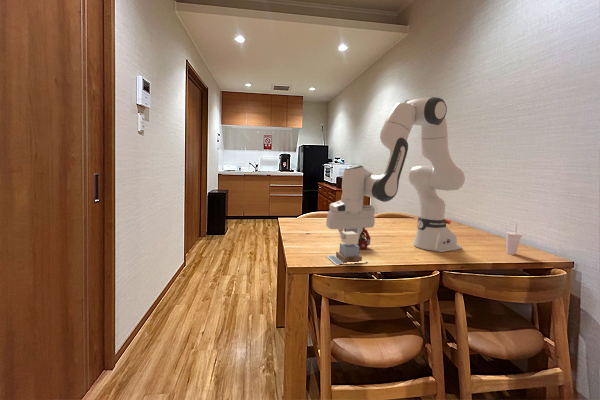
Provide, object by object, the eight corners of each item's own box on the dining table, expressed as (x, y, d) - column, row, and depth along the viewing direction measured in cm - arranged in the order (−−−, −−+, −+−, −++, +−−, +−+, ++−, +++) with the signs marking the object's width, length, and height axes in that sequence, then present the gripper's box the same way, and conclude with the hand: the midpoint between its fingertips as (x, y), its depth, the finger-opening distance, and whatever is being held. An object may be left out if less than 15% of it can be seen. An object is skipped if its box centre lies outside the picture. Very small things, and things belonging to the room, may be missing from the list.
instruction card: (355, 254, 140) (355, 253, 140) (367, 263, 129) (367, 262, 129) (325, 256, 136) (325, 255, 136) (335, 265, 126) (335, 264, 125)
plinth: (353, 255, 138) (353, 250, 138) (361, 261, 130) (362, 256, 130) (335, 256, 136) (336, 251, 135) (343, 262, 128) (343, 258, 128)
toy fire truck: (371, 250, 147) (372, 228, 145) (344, 249, 147) (345, 227, 145) (368, 245, 154) (369, 224, 152) (342, 244, 154) (343, 223, 152)
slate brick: (352, 251, 136) (353, 242, 136) (358, 256, 131) (359, 246, 130) (339, 252, 135) (340, 243, 134) (345, 257, 129) (345, 247, 128)
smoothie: (514, 256, 144) (518, 226, 142) (499, 252, 150) (503, 223, 147) (522, 254, 147) (526, 225, 145) (508, 250, 153) (512, 222, 150)
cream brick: (352, 240, 135) (352, 231, 134) (358, 243, 130) (358, 234, 130) (341, 241, 133) (342, 232, 133) (347, 244, 129) (347, 235, 128)
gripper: (371, 203, 135) (368, 235, 137) (325, 204, 130) (324, 237, 132) (378, 206, 129) (376, 239, 131) (331, 207, 124) (329, 241, 126)
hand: (349, 238), depth 132 cm, fingers closed on cream brick, 5 cm apart
